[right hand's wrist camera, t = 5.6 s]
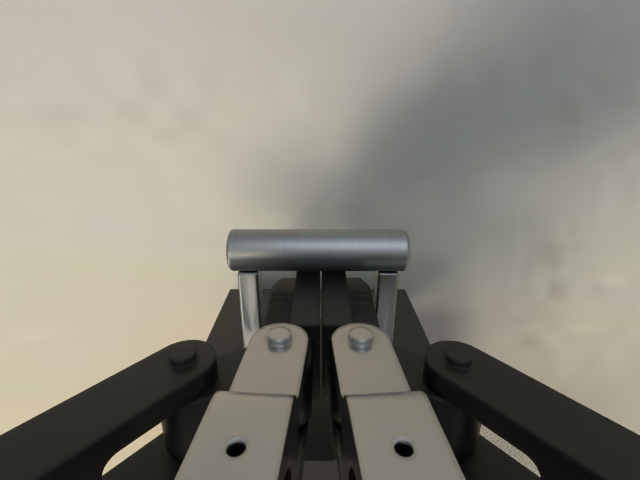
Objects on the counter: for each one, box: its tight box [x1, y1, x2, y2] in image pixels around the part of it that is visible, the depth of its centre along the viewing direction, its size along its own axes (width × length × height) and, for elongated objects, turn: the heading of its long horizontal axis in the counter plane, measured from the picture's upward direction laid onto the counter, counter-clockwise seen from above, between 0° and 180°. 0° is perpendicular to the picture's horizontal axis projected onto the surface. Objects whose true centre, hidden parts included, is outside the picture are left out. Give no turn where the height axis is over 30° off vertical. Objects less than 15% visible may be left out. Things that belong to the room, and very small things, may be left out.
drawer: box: [206, 229, 430, 480], centre depth 16 cm, size 22×9×9 cm, turn 0°
